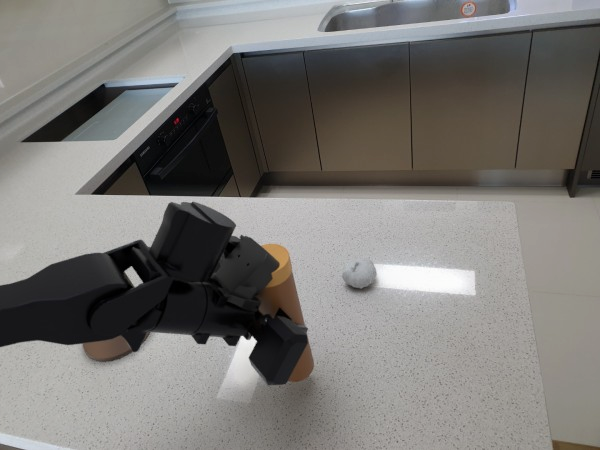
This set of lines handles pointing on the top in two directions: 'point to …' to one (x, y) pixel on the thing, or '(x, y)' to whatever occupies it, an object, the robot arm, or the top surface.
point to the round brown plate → (108, 349)
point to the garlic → (359, 273)
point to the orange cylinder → (285, 304)
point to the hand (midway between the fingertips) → (293, 319)
